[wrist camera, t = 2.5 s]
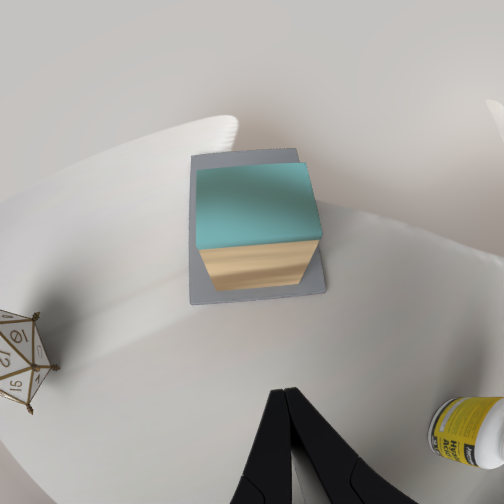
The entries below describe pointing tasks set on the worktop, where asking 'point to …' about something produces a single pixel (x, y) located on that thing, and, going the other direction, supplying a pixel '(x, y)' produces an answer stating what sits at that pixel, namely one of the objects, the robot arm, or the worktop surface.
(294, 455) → the robot arm
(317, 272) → the mat
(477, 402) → the supplement bottle
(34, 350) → the game die
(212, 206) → the oak block
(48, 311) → the worktop surface
